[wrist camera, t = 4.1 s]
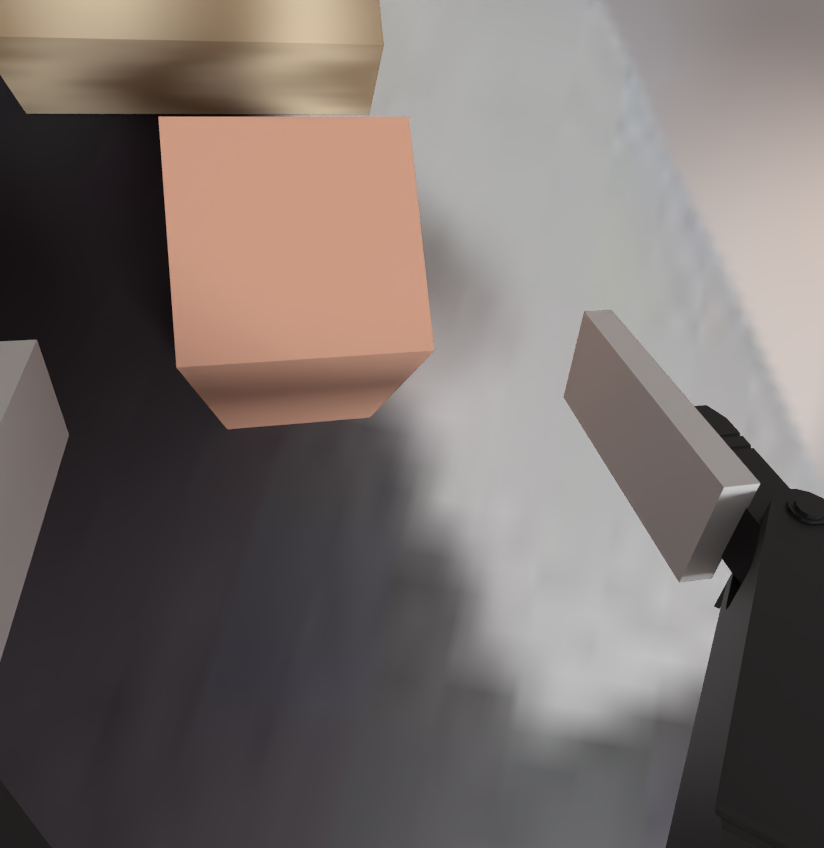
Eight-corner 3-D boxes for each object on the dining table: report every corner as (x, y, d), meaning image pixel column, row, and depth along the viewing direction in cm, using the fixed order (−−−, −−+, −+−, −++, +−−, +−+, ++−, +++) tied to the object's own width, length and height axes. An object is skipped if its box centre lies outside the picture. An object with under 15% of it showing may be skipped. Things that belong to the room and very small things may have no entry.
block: (227, 429, 23) (176, 367, 13) (216, 289, 24) (158, 116, 13) (369, 417, 24) (434, 350, 14) (356, 283, 25) (408, 117, 14)
